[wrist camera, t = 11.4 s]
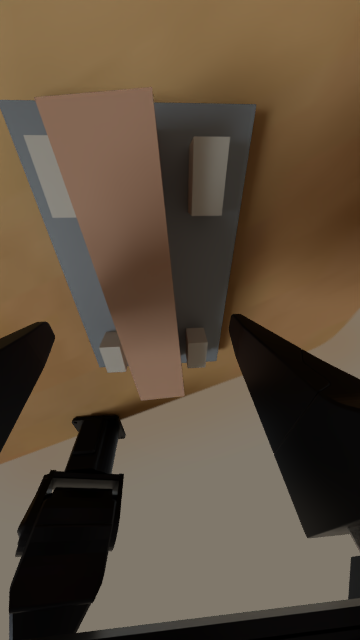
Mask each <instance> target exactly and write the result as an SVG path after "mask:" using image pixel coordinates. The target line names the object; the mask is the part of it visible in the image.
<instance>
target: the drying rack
mask: <svg viewBox="0 0 360 640" xmlns="http://www.w3.org/2000/svg"><path fill="white" fill-rule="evenodd" d="M154 107H155V115H156V122H157V130H158V140H159V150H160V159H161V169H162V179H163V188H164V198H165V208H166V217H167V227H168V237H169V246H170V256H171V266H172V275H173V285H174V295H175V304H176V314H177V324H178V333H179V343H180V353H181V363H187V367H188V368H199V367H205V364H206V362H207V361H216V360H217V353H218V347H219V340H220V334H221V328H222V321H223V315H224V308H225V302H226V296H227V289H228V283H229V276H230V270H231V264H232V257H233V251H234V244H235V238H236V232H237V225H238V219H239V212H240V206H241V200H242V193H243V187H244V180H245V174H246V168H247V161H248V155H249V148H250V142H251V136H252V129H253V123H254V116H255V110H256V104H206V103H154ZM0 109H1V111H2V114H3V116H4V119H5V122H6V124H7V127H8V129H9V132H10V135H11V137H12V140H13V142H14V145H15V148H16V150H17V153H18V155H19V158H20V161H21V163H22V166H23V168H24V171H25V174H26V176H27V179H28V182H29V184H30V187H31V189H32V192H33V195H34V197H35V200H36V202H37V205H38V208H39V210H40V213H41V215H42V218H43V221H44V223H45V226H46V228H47V231H48V234H49V236H50V239H51V241H52V244H53V247H54V249H55V252H56V254H57V257H58V260H59V262H60V265H61V267H62V270H63V273H64V275H65V278H66V280H67V283H68V286H69V288H70V291H71V293H72V296H73V299H74V301H75V304H76V307H77V309H78V312H79V314H80V317H81V320H82V322H83V325H84V327H85V330H86V333H87V335H88V338H89V340H90V343H91V346H92V348H93V351H94V353H95V356H96V359H97V361H98V364H99V366H100V367H106V369H107V372H126V370H127V366H129V365H128V362H127V359H126V356H125V354H124V351H123V348H122V345H121V342H120V339H119V337H118V334H117V331H116V328H115V325H114V322H113V320H112V317H111V314H110V311H109V308H108V305H107V303H106V300H105V297H104V294H103V291H102V288H101V286H100V283H99V280H98V277H97V274H96V271H95V268H94V266H93V263H92V260H91V257H90V254H89V251H88V249H87V246H86V243H85V240H84V237H83V234H82V232H81V229H80V226H79V223H78V220H77V217H76V215H75V212H74V209H73V206H72V203H71V200H70V198H69V195H68V192H67V189H66V186H65V183H64V181H63V178H62V175H61V172H60V169H59V166H58V164H57V161H56V158H55V155H54V152H53V149H52V147H51V144H50V141H49V138H48V135H47V132H46V130H45V127H44V124H43V121H42V118H41V115H40V113H39V110H38V107H37V104H36V101H33V100H0Z"/></svg>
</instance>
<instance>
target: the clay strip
mask: <svg viewBox="0 0 360 640" xmlns="http://www.w3.org/2000/svg"><path fill="white" fill-rule="evenodd" d="M34 98H35V101H36V104H37V107H38V110H39V113H40V115H41V118H42V121H43V124H44V127H45V130H46V132H47V135H48V138H49V141H50V144H51V147H52V149H53V152H54V155H55V158H56V161H57V164H58V166H59V169H60V172H61V175H62V178H63V181H64V183H65V186H66V189H67V192H68V195H69V198H70V200H71V203H72V206H73V209H74V212H75V215H76V217H77V220H78V223H79V226H80V229H81V232H82V234H83V237H84V240H85V243H86V246H87V249H88V251H89V254H90V257H91V260H92V263H93V266H94V268H95V271H96V274H97V277H98V280H99V283H100V286H101V288H102V291H103V294H104V297H105V300H106V303H107V305H108V308H109V311H110V314H111V317H112V320H113V322H114V325H115V328H116V331H117V334H118V337H119V339H120V342H121V345H122V348H123V351H124V354H125V356H126V359H127V362H128V365H129V368H130V371H131V373H132V376H133V379H134V382H135V385H136V388H137V390H138V393H139V396H140V399H141V401H142V400H152V399H161V398H171V397H181V396H185V395H184V385H183V374H182V363H181V353H180V343H179V333H178V324H177V314H176V304H175V295H174V285H173V275H172V266H171V256H170V246H169V237H168V227H167V217H166V208H165V198H164V188H163V179H162V169H161V159H160V150H159V140H158V130H157V122H156V115H155V107H154V99H153V92H152V87H147V88H136V89H124V90H113V91H101V92H90V93H78V94H67V95H55V96H43V97H34Z"/></svg>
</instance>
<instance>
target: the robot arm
mask: <svg viewBox="0 0 360 640" xmlns="http://www.w3.org/2000/svg"><path fill="white" fill-rule="evenodd" d="M229 333H230V337H231V341H232V345H233V348H234V352H235V356H236V359H237V362H238V364H239V367H240V369H241V372H242V374H243V377H244V379H245V382H246V384H247V387H248V390H249V392H250V395H251V397H252V400H253V402H254V405H255V407H256V410H257V412H258V415H259V417H260V420H261V422H262V425H263V428H264V430H265V433H266V435H267V438H268V440H269V443H270V445H271V448H272V450H273V453H274V456H275V458H276V461H277V463H278V466H279V468H280V471H281V474H282V476H283V479H284V481H285V484H286V486H287V489H288V492H289V494H290V496H291V499H292V502H293V504H294V507H295V509H296V512H297V514H298V517H299V520H300V522H301V525H302V527H303V530H304V532H305V534H306V536H307V538H316V537H325V536H335V535H344V534H350V535H351V536H352V538H353V540H354V542H355V544H356V546H357V548H358V549H359V551H360V379H358V378H356V377H354V376H352V375H350V374H348V373H346V372H344V371H342V370H340V369H338V368H336V367H334V366H332V365H330V364H328V363H326V362H324V361H322V360H321V359H319V358H317V357H315V356H313V355H311V354H310V353H308V352H306V351H305V350H303V349H302V350H301V348H299V347H297V346H296V345H294V344H292V343H290V342H289V341H287V340H285V339H283V338H282V337H280V336H278V335H276V334H275V333H273V332H271V331H269V330H268V329H266V328H264V327H262V326H261V325H259V324H257V323H255V322H254V321H252V320H250V319H248V318H247V317H245V316H243V315H241V314H232V316H231V320H230V325H229ZM54 340H55V335H54V333H53V331H52V329H51V327H50V325H49V323H47V322H36V323H34V324H31V325H29V326H27V327H25V328H23V329H20V330H18V331H16V332H14V333H12V334H9V335H7V336H5V337H3V338H1V339H0V452H1V450H2V448H3V446H4V445H5V443H6V441H7V439H8V437H9V435H10V433H11V431H12V429H13V427H14V425H15V423H16V421H17V419H18V417H19V415H20V413H21V411H22V409H23V408H24V406H25V404H26V402H27V400H28V398H29V396H30V394H31V392H32V390H33V388H34V386H35V384H36V382H37V380H38V378H39V376H40V374H41V372H42V370H43V368H44V366H45V364H46V361H47V359H48V356H49V353H50V351H51V348H52V346H53V343H54ZM72 424H73V425H74V426H75V428H76V429H77V431H78V432H79V433H78V435H77V438H76V441H75V444H74V446H73V449H72V452H71V455H70V457H69V460H68V463H67V466H66V468H65V471H64V472H61V471H56V470H51V471H50V473H49V474H47V475H44V477H43V479H42V482H41V484H40V486H39V488H38V491H37V493H36V495H35V497H34V499H33V501H32V503H31V505H30V506H29V508H28V510H27V512H26V514H25V516H24V518H23V520H22V522H21V524H20V526H19V528H18V530H17V533H18V536H19V541H18V548H17V551H16V555H15V556H16V557H20V556H22V557H21V559H20V562H19V565H18V567H17V570H16V573H15V575H14V578H13V581H12V583H11V586H10V592H9V593H10V596H9V615H10V616H9V631H10V632H9V640H360V556H355V557H351V567H350V582H349V597H348V600H341V601H333V602H325V603H316V604H308V605H301V606H292V607H284V608H276V609H268V610H260V611H252V612H243V613H236V614H228V615H219V616H211V617H203V618H195V619H187V620H179V621H171V622H162V623H155V624H146V625H138V626H131V627H123V628H114V629H106V630H98V631H90V632H82V633H76V632H77V630H78V628H79V626H80V624H81V622H82V620H83V618H84V616H85V614H86V612H87V610H88V608H89V606H90V604H91V603H93V601H94V599H95V597H96V595H97V593H98V591H99V588H100V586H101V584H102V580H103V577H104V572H105V567H106V561H107V555H108V551H112V550H113V548H114V544H115V541H116V537H117V532H118V526H119V519H120V510H121V499H122V488H123V478H124V474H111V473H112V467H113V462H114V457H115V451H116V447H117V442H118V439H123V438H125V435H126V434H125V432H124V429H123V426H122V424H121V421H120V419H119V416H116V415H113V416H98V417H83V418H74V419H73V420H72ZM52 489H54V492H53V493H51V492H52Z"/></svg>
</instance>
